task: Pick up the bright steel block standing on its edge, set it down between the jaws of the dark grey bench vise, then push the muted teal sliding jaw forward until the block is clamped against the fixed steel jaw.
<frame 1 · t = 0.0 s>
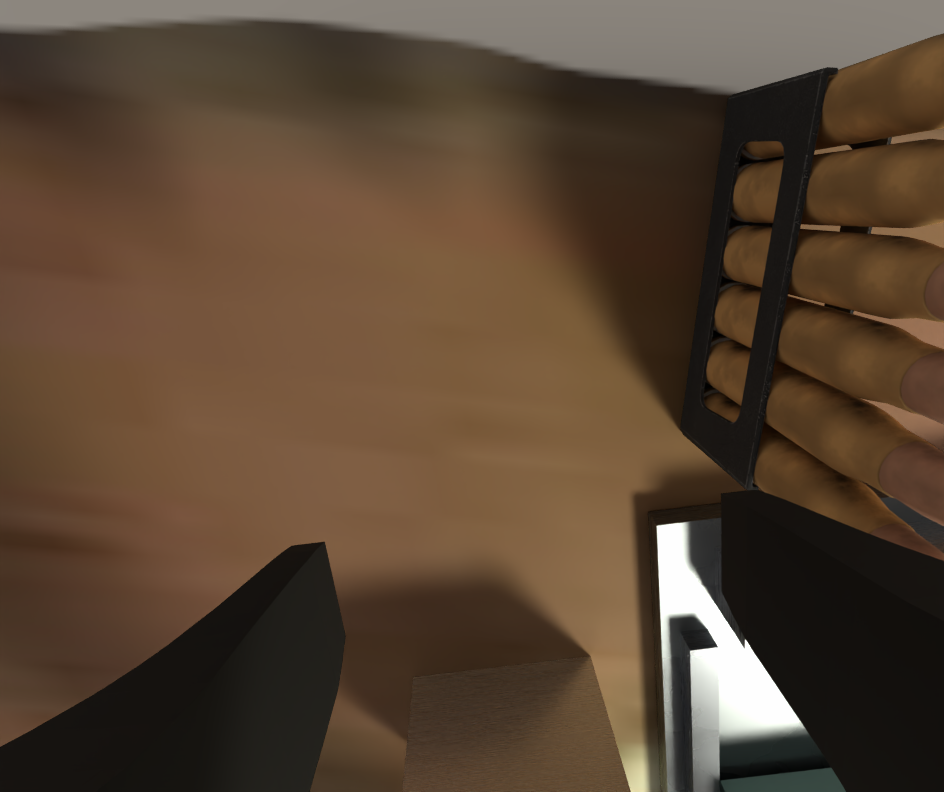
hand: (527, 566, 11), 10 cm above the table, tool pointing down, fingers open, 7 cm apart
vise bed: (882, 663, 24), on the table
steel block: (506, 705, 25), on the table
ammunition clip: (727, 277, 20), on the table
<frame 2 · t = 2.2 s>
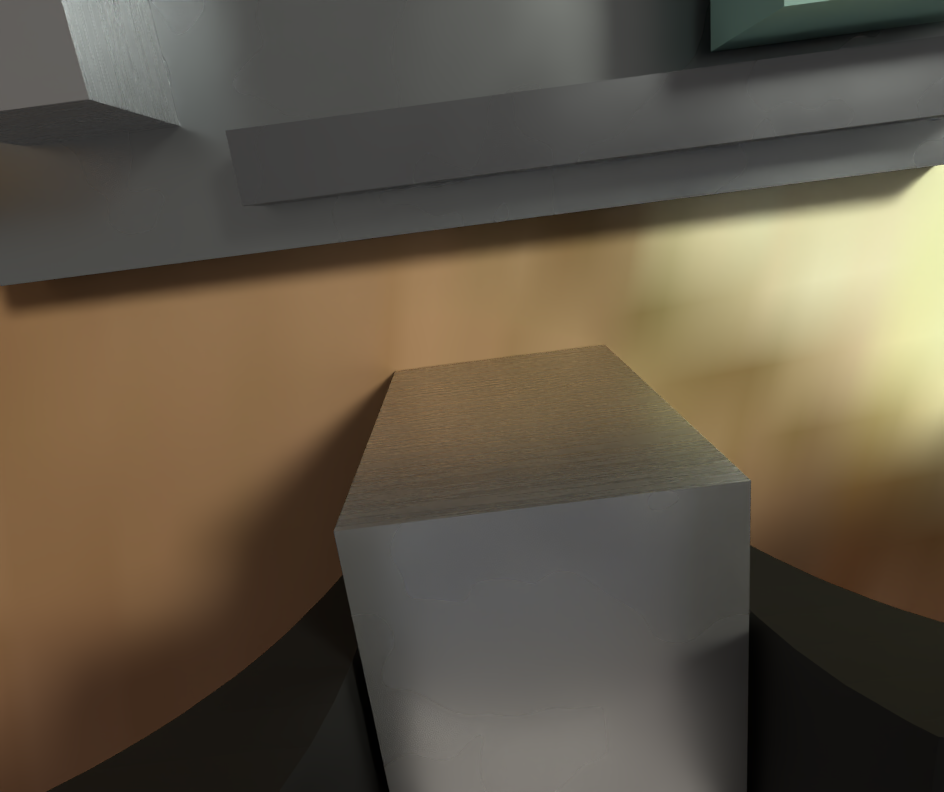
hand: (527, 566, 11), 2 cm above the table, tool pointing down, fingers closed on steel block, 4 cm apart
steel block: (518, 522, 13), on the table, touching gripper
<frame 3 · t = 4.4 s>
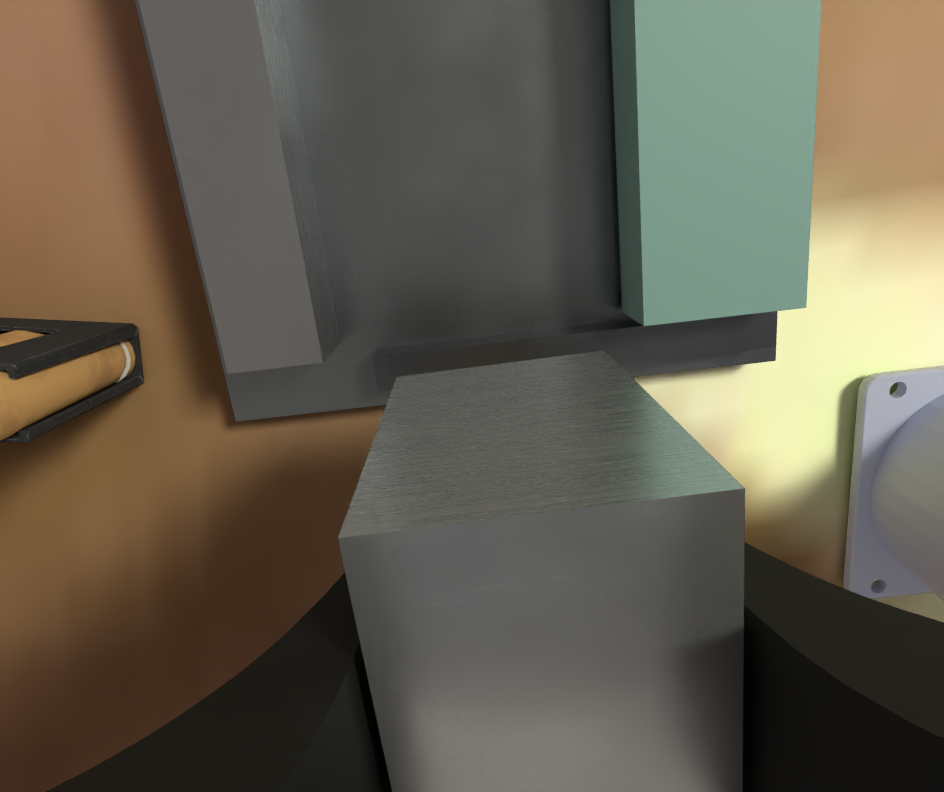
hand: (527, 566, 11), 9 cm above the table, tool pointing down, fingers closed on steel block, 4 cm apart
sliding jaw: (708, 7, 14), point 2 cm above the table, slide at 0.0 cm
vise bed: (468, 60, 16), on the table
steel block: (518, 525, 13), point 7 cm above the table, touching gripper
when the fingers open (4 cm above the table, at t = 6.8 s): steel block drops 1 cm, resting on vise bed.
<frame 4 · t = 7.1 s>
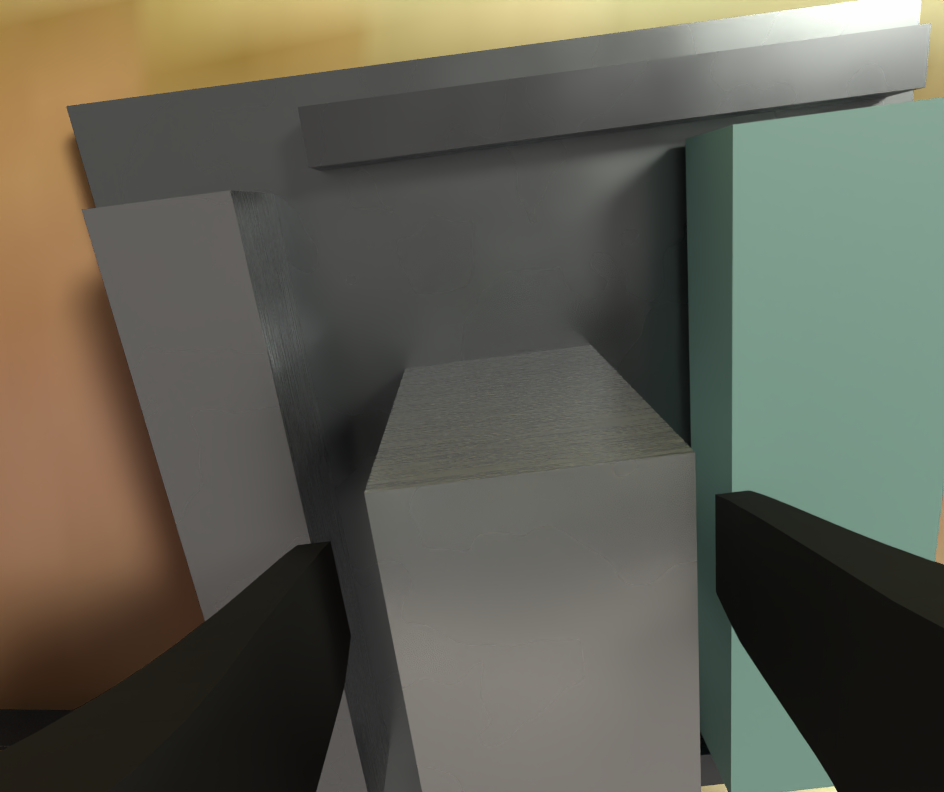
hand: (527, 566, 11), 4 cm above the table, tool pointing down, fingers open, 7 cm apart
sliding jaw: (806, 484, 13), point 2 cm above the table, slide at 0.0 cm
vise bed: (529, 470, 15), on the table
steel block: (514, 503, 14), point 1 cm above the table, touching vise bed
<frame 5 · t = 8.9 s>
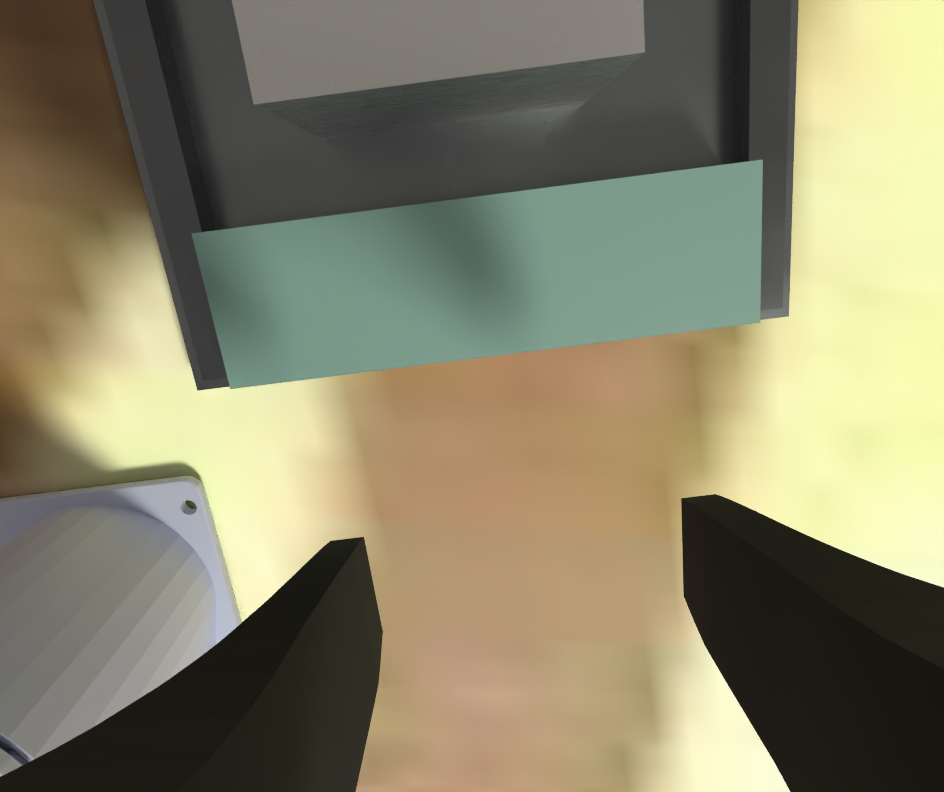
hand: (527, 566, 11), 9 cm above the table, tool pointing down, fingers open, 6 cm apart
sliding jaw: (482, 275, 16), point 2 cm above the table, slide at 0.0 cm
vise bed: (456, 68, 17), on the table
steel block: (441, 40, 16), point 1 cm above the table, touching vise bed
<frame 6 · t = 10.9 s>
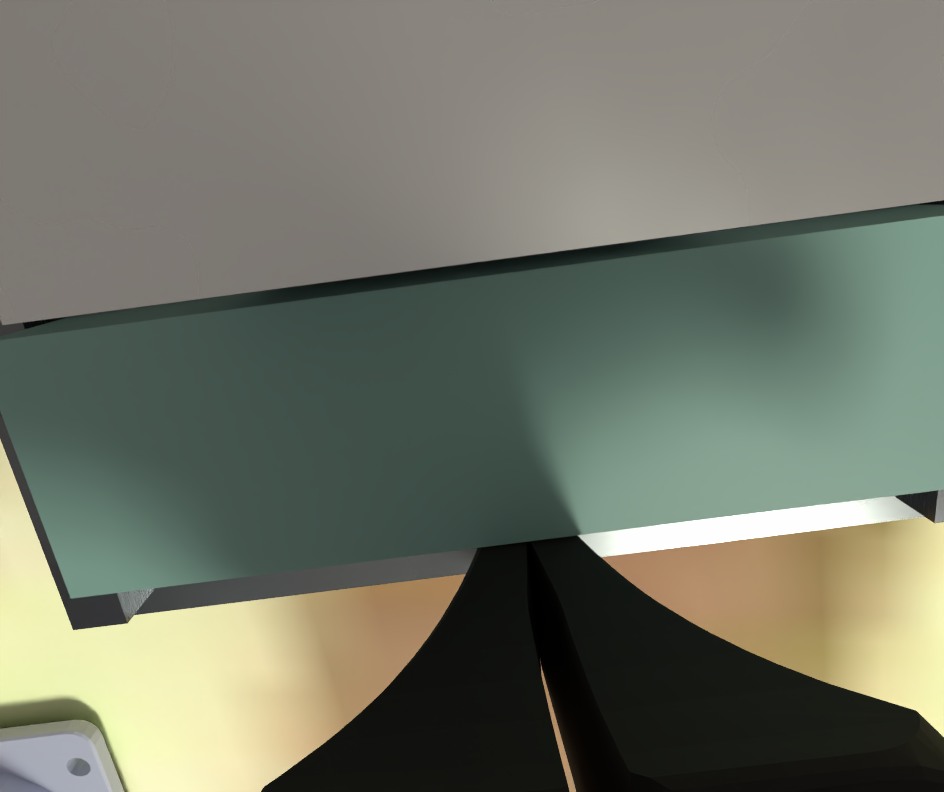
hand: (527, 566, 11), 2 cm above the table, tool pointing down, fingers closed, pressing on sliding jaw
sliding jaw: (506, 395, 10), point 2 cm above the table, slide at 1.5 cm, touching gripper
vise bed: (471, 138, 11), on the table
steel block: (447, 101, 10), point 1 cm above the table, touching vise bed
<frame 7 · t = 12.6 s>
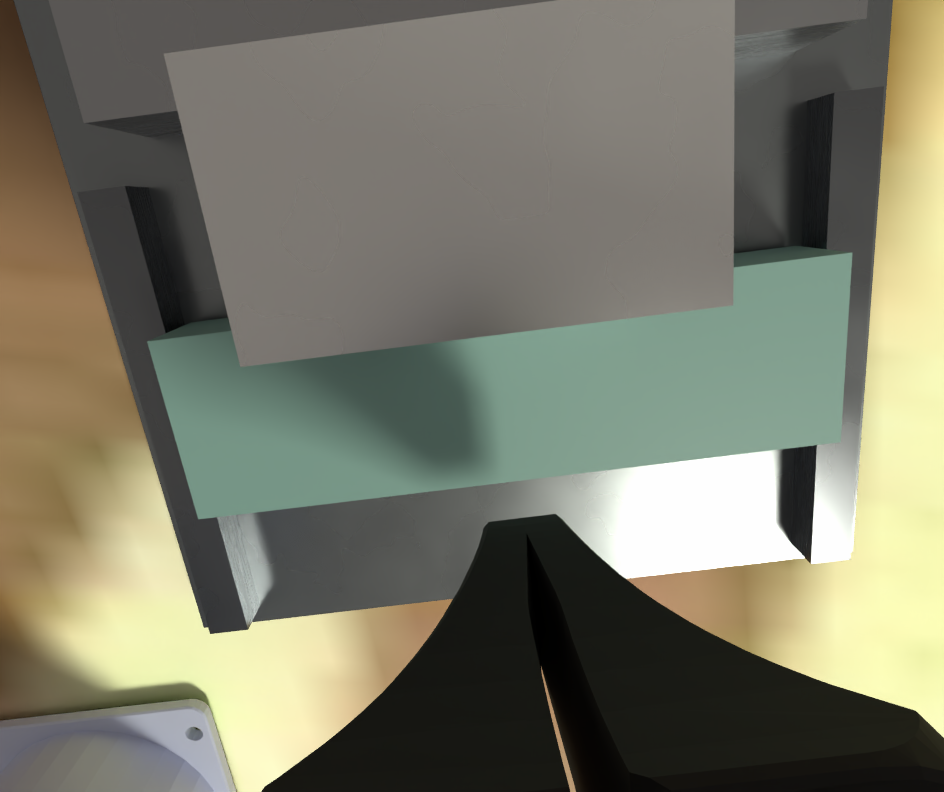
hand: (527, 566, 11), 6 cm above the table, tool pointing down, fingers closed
sliding jaw: (503, 379, 14), point 2 cm above the table, slide at 4.0 cm
vise bed: (490, 296, 15), on the table
steel block: (464, 195, 14), point 1 cm above the table, touching vise bed
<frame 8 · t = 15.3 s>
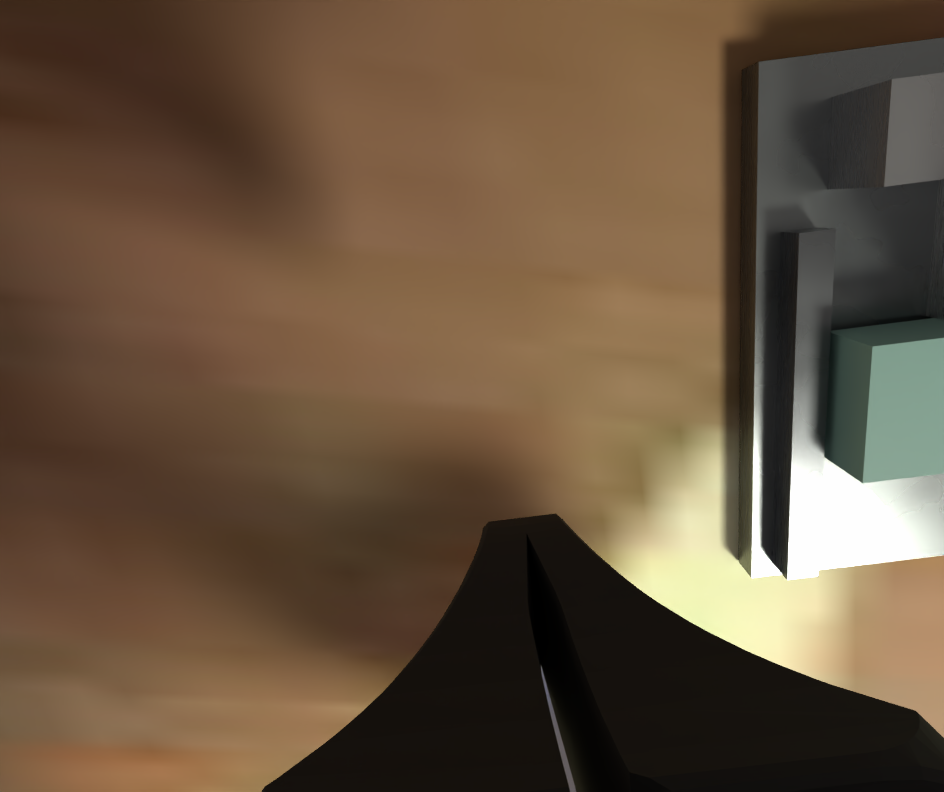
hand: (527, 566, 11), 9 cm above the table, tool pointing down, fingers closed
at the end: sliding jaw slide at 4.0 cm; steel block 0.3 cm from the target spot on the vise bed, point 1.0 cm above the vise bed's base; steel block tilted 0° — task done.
